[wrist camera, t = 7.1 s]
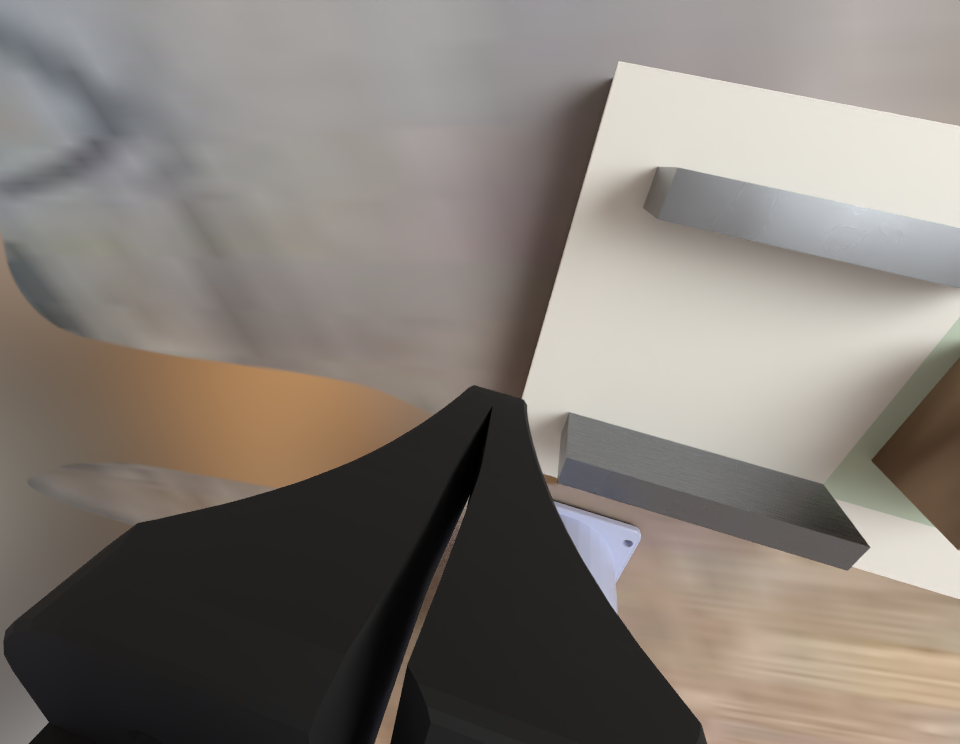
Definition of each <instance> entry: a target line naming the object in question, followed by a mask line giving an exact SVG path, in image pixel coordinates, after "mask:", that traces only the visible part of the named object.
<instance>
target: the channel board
mask: <svg viewBox="0 0 960 744" xmlns="http://www.w3.org/2000/svg"><path fill="white" fill-rule="evenodd" d="M658 166H659V167H678V168H683V169H688V170H692V171H697V172H702V173H706V174H711V175H716V176H720V177H725V178H729V179H734V180H739V181H743V182H748V183H753V184H757V185H762V186H767V187H771V188H776V189H781V190H785V191H790V192H795V193H799V194H804V195H809V196H813V197H818V198H823V199H827V200H832V201H837V202H841V203H846V204H851V205H855V206H860V207H865V208H869V209H874V210H879V211H883V212H888V213H893V214H897V215H902V216H907V217H911V218H916V219H921V220H925V221H930V222H934V223H939V224H944V225H948V226H953V227H958V228H960V126H956V125H950V124H945V123H940V122H935V121H929V120H924V119H919V118H914V117H908V116H903V115H898V114H893V113H887V112H882V111H877V110H872V109H866V108H861V107H856V106H851V105H845V104H840V103H835V102H830V101H825V100H819V99H814V98H809V97H804V96H798V95H793V94H788V93H783V92H777V91H772V90H767V89H762V88H756V87H751V86H746V85H741V84H735V83H730V82H725V81H720V80H714V79H709V78H704V77H699V76H694V75H688V74H683V73H678V72H673V71H667V70H662V69H657V68H652V67H646V66H641V65H636V64H631V63H625V62H620V61H619V62H618V65H617V68H616V71H615V74H614V76H613V80H612V83H611V87H610V90H609V94H608V97H607V101H606V104H605V108H604V111H603V115H602V118H601V122H600V125H599V129H598V132H597V136H596V139H595V143H594V146H593V150H592V153H591V157H590V160H589V164H588V167H587V171H586V174H585V178H584V181H583V185H582V188H581V192H580V195H579V199H578V202H577V206H576V209H575V213H574V216H573V220H572V223H571V227H570V230H569V234H568V237H567V241H566V244H565V248H564V251H563V255H562V258H561V262H560V265H559V269H558V272H557V276H556V279H555V283H554V286H553V290H552V293H551V297H550V300H549V304H548V307H547V311H546V314H545V318H544V321H543V325H542V328H541V332H540V335H539V339H538V342H537V346H536V349H535V353H534V356H533V360H532V363H531V367H530V370H529V374H528V377H527V381H526V384H525V388H524V391H523V395H522V398H521V399H523V400H524V401H525V402H526V404H527V413H528V421H529V426H530V431H531V436H532V440H533V444H534V447H535V451H536V454H537V458H538V461H539V464H540V467H541V470H542V473H543V474H546V475H550V476H553V477H558V464H559V452H560V440H561V433H562V430H563V428H564V425H565V422H566V419H567V417H568V414H569V412H571V413H574V414H578V415H581V416H585V417H589V418H592V419H596V420H599V421H603V422H606V423H610V424H613V425H617V426H620V427H624V428H627V429H631V430H634V431H638V432H641V433H645V434H648V435H652V436H655V437H659V438H663V439H666V440H670V441H673V442H677V443H680V444H684V445H687V446H691V447H694V448H698V449H701V450H705V451H708V452H712V453H715V454H719V455H722V456H726V457H729V458H733V459H737V460H740V461H744V462H747V463H751V464H754V465H758V466H761V467H765V468H768V469H772V470H775V471H779V472H782V473H786V474H789V475H793V476H796V477H800V478H803V479H807V480H810V481H814V482H818V483H821V484H824V486H825V487H826V488H827V490H828V491H829V492H830V494H831V495H832V496H833V498H834V499H835V500H836V502H837V503H838V505H839V506H840V507H841V509H842V510H843V511H844V513H845V514H846V515H847V517H848V518H849V519H850V521H851V522H852V523H853V525H854V526H855V527H856V529H857V530H858V531H859V533H860V534H861V535H862V537H863V538H864V539H865V541H866V542H867V543H868V545H869V546H870V547H871V548H870V549H869V550H868V551H867V552H866V553H865V554H864V555H863V556H862V557H861V558H860V559H859V560H858V561H857V562H856V563H855V564H854V565H853V566H852V567H854V568H858V569H861V570H864V571H868V572H871V573H874V574H878V575H881V576H884V577H888V578H891V579H894V580H898V581H901V582H904V583H908V584H911V585H914V586H917V587H921V588H924V589H927V590H931V591H934V592H937V593H941V594H944V595H947V596H951V597H954V598H957V599H960V551H959V550H957V549H956V548H955V547H954V546H953V545H952V544H951V543H950V542H949V541H948V540H947V539H946V537H945V536H944V535H943V534H942V533H941V532H940V531H939V530H938V529H937V528H936V527H935V526H934V525H933V524H932V523H931V522H930V521H929V520H928V519H927V518H926V517H925V516H924V515H923V514H922V513H921V512H920V511H919V510H918V509H917V508H916V506H915V505H914V504H913V503H912V502H911V501H910V500H909V499H908V498H907V497H906V496H905V495H904V494H903V493H902V492H901V491H900V490H899V489H898V488H897V487H896V486H895V485H894V484H893V483H892V482H891V481H890V480H889V479H888V478H887V477H886V475H885V474H884V473H883V472H882V471H881V470H880V469H879V468H878V467H877V466H876V465H875V464H874V463H873V462H872V461H871V460H872V459H873V457H874V456H875V455H876V454H877V453H878V452H879V451H880V449H881V448H882V447H883V446H884V445H885V444H886V442H887V441H888V440H889V439H890V438H891V437H892V435H893V434H894V433H895V432H896V431H897V430H898V428H899V427H900V426H901V425H902V424H903V423H904V421H905V420H906V419H907V418H908V417H909V416H910V414H911V413H912V412H913V411H914V410H915V409H916V407H917V406H918V405H919V404H920V403H921V402H922V401H923V399H924V398H925V397H926V396H927V395H928V394H929V392H930V391H931V390H932V389H933V388H934V387H935V385H936V384H937V383H938V382H939V381H940V380H941V378H942V377H943V376H944V375H945V374H946V373H947V371H948V370H949V369H950V368H951V367H952V366H953V364H954V363H955V362H956V361H957V360H958V359H959V357H960V288H956V287H952V286H947V285H943V284H939V283H934V282H930V281H925V280H921V279H917V278H912V277H908V276H904V275H899V274H895V273H890V272H886V271H882V270H877V269H873V268H869V267H864V266H860V265H856V264H851V263H847V262H842V261H838V260H834V259H829V258H825V257H821V256H816V255H812V254H807V253H803V252H799V251H794V250H790V249H786V248H781V247H777V246H772V245H768V244H764V243H759V242H755V241H751V240H746V239H742V238H738V237H733V236H729V235H724V234H720V233H716V232H711V231H707V230H703V229H698V228H694V227H689V226H685V225H681V224H676V223H672V222H668V221H663V220H659V219H657V218H655V217H654V216H653V215H651V214H650V213H649V212H647V211H646V210H645V209H644V208H643V206H644V203H645V201H646V198H647V195H648V192H649V189H650V187H651V184H652V181H653V178H654V176H655V173H656V170H657V167H658Z"/></svg>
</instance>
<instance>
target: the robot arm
mask: <svg viewBox="0 0 960 744" xmlns="http://www.w3.org/2000/svg"><path fill="white" fill-rule="evenodd" d="M469 495H470V496H469ZM468 497H469V501H468V505H467V510H466V513H465V516H464V518H463V521H462V524H461V527H460V529H459V532H458V535H457V538H456V540H455V543H454V546H453V548H452V551H451V554H450V556H449V559H448V562H447V564H446V567H445V570H444V572H443V575H442V578H441V580H440V583H439V585H438V588H437V591H436V593H435V596H434V598H433V601H432V603H431V606H430V609H429V611H428V614H427V616H426V619H425V622H424V624H423V627H422V629H421V632H420V634H419V637H418V639H417V642H416V645H415V647H414V650H413V652H412V655H411V657H410V660H409V662H408V665H407V669H406V674H405V678H404V683H403V688H402V692H401V697H400V702H399V706H398V711H397V716H396V720H395V725H394V730H393V734H392V739H391V744H707V742H706V738H705V735H704V732H703V728H702V725H701V723H700V722H699V721H698V719H697V718H696V717H695V716H694V714H693V713H692V712H691V710H690V709H689V708H688V707H687V705H686V704H685V703H684V702H683V700H682V699H681V698H680V697H679V695H678V694H677V693H676V691H675V690H674V689H673V688H672V686H671V685H670V684H669V683H668V681H667V680H666V679H665V678H664V676H663V675H662V674H661V672H660V671H659V670H658V669H657V667H656V666H655V665H654V664H653V662H652V661H651V660H650V659H649V657H648V656H647V655H646V653H645V652H644V651H643V650H642V648H641V647H640V646H639V644H638V643H637V642H636V640H635V639H634V637H633V636H632V635H631V633H630V632H629V630H628V629H627V627H626V626H625V625H624V623H623V622H622V620H621V619H620V618H619V616H618V608H617V595H616V582H617V580H618V578H619V576H620V575H621V573H622V571H623V569H624V568H625V566H626V564H627V562H628V561H629V559H630V557H631V555H632V554H633V552H634V550H635V548H636V547H637V545H638V543H639V541H640V540H641V533H640V530H639V529H638V528H637V527H635V526H633V525H629V524H626V523H623V522H620V521H616V520H613V519H610V518H607V517H603V516H600V515H597V514H594V513H590V512H587V511H584V510H581V509H577V508H574V507H571V506H568V505H565V504H561V503H558V502H555V501H553V499H552V497H551V494H550V492H549V489H548V487H547V484H546V481H545V479H544V476H543V473H542V470H541V467H540V464H539V461H538V458H537V454H536V451H535V447H534V444H533V440H532V436H531V431H530V426H529V421H528V413H527V404H526V402H525V401H524V400H523V399H520V398H516V397H513V396H509V395H506V394H502V393H499V392H496V391H492V390H489V389H485V388H482V387H478V386H475V385H474V386H472V387H470V388H468V389H467V390H466V391H465V392H463V393H462V394H461V395H460V396H459V397H457V398H456V399H455V400H454V401H452V402H451V403H450V404H448V405H447V406H446V407H445V408H443V409H442V410H440V411H439V412H438V413H436V414H435V415H433V416H432V417H430V418H429V419H428V420H426V421H425V422H423V423H422V424H420V425H419V426H417V427H415V428H414V429H412V430H410V431H409V432H407V433H405V434H404V435H402V436H401V437H399V438H397V439H395V440H394V441H392V442H390V443H388V444H386V445H385V446H383V447H381V448H379V449H377V450H375V451H373V452H371V453H369V454H367V455H365V456H363V457H361V458H358V459H357V460H354V461H352V462H350V463H347V464H345V465H342V466H340V467H338V468H335V469H332V470H330V471H328V472H325V473H322V474H319V475H317V476H314V477H312V478H309V479H306V480H304V481H301V482H298V483H295V484H292V485H288V486H285V487H282V488H279V489H276V490H273V491H269V492H266V493H262V494H259V495H255V496H252V497H248V498H245V499H241V500H238V501H234V502H230V503H226V504H222V505H218V506H214V507H209V508H205V509H200V510H196V511H192V512H187V513H183V514H178V515H174V516H170V517H165V518H161V519H156V520H151V521H146V522H141V523H137V524H136V525H135V526H133V527H132V528H131V529H129V530H128V531H127V532H125V533H124V534H123V535H121V536H120V537H119V538H117V539H116V540H115V541H113V542H112V543H111V544H110V545H108V546H107V547H106V548H104V549H103V550H102V551H101V552H99V553H98V554H97V555H96V556H94V557H93V558H92V559H91V560H89V561H88V562H87V563H86V564H84V565H83V566H82V567H81V568H80V569H78V570H77V571H76V572H75V573H73V574H72V575H71V576H70V577H69V578H68V579H66V580H65V581H64V582H62V583H61V584H60V585H59V586H57V587H56V588H55V589H54V590H53V591H51V592H50V593H49V594H48V595H47V596H45V597H44V598H43V599H41V600H40V601H39V602H38V603H36V604H35V605H34V606H33V607H32V608H30V609H29V610H28V611H27V612H25V613H24V614H23V615H22V616H21V617H19V618H18V619H17V620H16V621H14V622H13V623H12V624H11V626H10V627H9V628H8V629H7V630H6V632H5V637H4V655H5V657H6V659H7V661H8V663H9V665H10V666H11V668H12V670H13V672H14V673H15V675H16V676H17V677H18V679H19V680H20V682H21V683H22V685H23V686H24V687H25V689H26V690H27V692H28V693H29V694H30V696H31V697H32V699H33V700H34V701H35V703H36V704H37V706H38V707H39V709H40V710H41V712H42V713H43V714H44V716H45V717H46V718H47V720H48V721H49V723H48V724H47V725H46V726H45V727H44V728H43V730H41V732H40V733H39V734H38V735H37V736H36V737H35V738H34V739H33V740H32V741H31V742H30V743H29V744H374V743H375V740H376V737H377V734H378V731H379V728H380V725H381V722H382V719H383V716H384V713H385V711H386V708H387V705H388V702H389V699H390V696H391V693H392V690H393V687H394V684H395V681H396V678H397V675H398V672H399V670H400V667H401V664H402V661H403V658H404V655H405V652H406V649H407V646H408V643H409V640H410V638H411V635H412V632H413V629H414V626H415V623H416V620H417V618H418V615H419V612H420V609H421V606H422V603H423V600H424V597H425V595H426V592H427V590H428V587H429V585H430V582H431V580H432V577H433V575H434V573H435V571H436V569H437V566H438V564H439V562H440V560H441V557H442V555H443V553H444V551H445V549H446V546H447V544H448V542H449V540H450V538H451V535H452V533H453V531H454V529H455V526H456V524H457V522H458V520H459V518H460V515H461V513H462V511H463V509H464V506H465V504H466V502H467V500H468ZM625 540H630V541H625Z"/></svg>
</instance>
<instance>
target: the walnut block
mask: <svg viewBox="0 0 960 744" xmlns="http://www.w3.org/2000/svg"><path fill="white" fill-rule="evenodd" d="M871 461H872V462H873V463H874V464H875V465H876V466H877V467H878V468H879V469H880V470H881V471H882V472H883V473H884V474H885V475H886V477H887V478H888V479H889V480H890V481H891V482H892V483H893V484H894V485H895V486H896V487H897V488H898V489H899V490H900V491H901V492H902V493H903V494H904V495H905V496H906V497H907V498H908V499H909V500H910V501H911V502H912V503H913V504H914V505H915V506H916V508H917V509H918V510H919V511H920V512H921V513H922V514H923V515H924V516H925V517H926V518H927V519H928V520H929V521H930V522H931V523H932V524H933V525H934V526H935V527H936V528H937V529H938V530H939V531H940V532H941V533H942V534H943V535H944V536H945V537H946V539H947V540H948V541H949V542H950V543H951V544H952V545H953V546H954V547H955V548H956V549H957V550H959V551H960V357H959V359H958V360H957V361H956V362H955V363H954V364H953V366H952V367H951V368H950V369H949V370H948V371H947V373H946V374H945V375H944V376H943V377H942V378H941V380H940V381H939V382H938V383H937V384H936V385H935V387H934V388H933V389H932V390H931V391H930V392H929V394H928V395H927V396H926V397H925V398H924V399H923V401H922V402H921V403H920V404H919V405H918V406H917V407H916V409H915V410H914V411H913V412H912V413H911V414H910V416H909V417H908V418H907V419H906V420H905V421H904V423H903V424H902V425H901V426H900V427H899V428H898V430H897V431H896V432H895V433H894V434H893V435H892V437H891V438H890V439H889V440H888V441H887V442H886V444H885V445H884V446H883V447H882V448H881V449H880V451H879V452H878V453H877V454H876V455H875V456H874V457H873V459H872V460H871Z"/></svg>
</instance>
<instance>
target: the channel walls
mask: <svg viewBox="0 0 960 744" xmlns="http://www.w3.org/2000/svg"><path fill="white" fill-rule="evenodd" d="M643 208H644V209H645V210H646V211H647V212H649V213H650V214H651V215H653V216H654V217H655V218H657V219H659V220H663V221H668V222H672V223H676V224H681V225H685V226H689V227H694V228H698V229H703V230H707V231H711V232H716V233H720V234H724V235H729V236H733V237H738V238H742V239H746V240H751V241H755V242H759V243H764V244H768V245H772V246H777V247H781V248H786V249H790V250H794V251H799V252H803V253H807V254H812V255H816V256H821V257H825V258H829V259H834V260H838V261H842V262H847V263H851V264H856V265H860V266H864V267H869V268H873V269H877V270H882V271H886V272H890V273H895V274H899V275H904V276H908V277H912V278H917V279H921V280H925V281H930V282H934V283H939V284H943V285H947V286H952V287H956V288H960V228H958V227H953V226H948V225H944V224H939V223H934V222H930V221H925V220H921V219H916V218H911V217H907V216H902V215H897V214H893V213H888V212H883V211H879V210H874V209H869V208H865V207H860V206H855V205H851V204H846V203H841V202H837V201H832V200H827V199H823V198H818V197H813V196H809V195H804V194H799V193H795V192H790V191H785V190H781V189H776V188H771V187H767V186H762V185H757V184H753V183H748V182H743V181H739V180H734V179H729V178H725V177H720V176H716V175H711V174H706V173H702V172H697V171H692V170H688V169H683V168H678V167H659V166H658V167H657V170H656V173H655V176H654V178H653V181H652V184H651V187H650V189H649V192H648V195H647V198H646V201H645V203H644V206H643ZM557 483H560V484H563V485H567V486H570V487H573V488H577V489H580V490H583V491H586V492H590V493H593V494H596V495H600V496H603V497H606V498H610V499H613V500H616V501H619V502H623V503H626V504H629V505H633V506H636V507H639V508H643V509H646V510H649V511H652V512H656V513H659V514H662V515H666V516H669V517H672V518H676V519H679V520H682V521H685V522H689V523H692V524H695V525H699V526H702V527H705V528H709V529H712V530H715V531H718V532H722V533H725V534H728V535H732V536H735V537H738V538H742V539H745V540H748V541H751V542H755V543H758V544H761V545H765V546H768V547H771V548H775V549H778V550H781V551H784V552H788V553H791V554H794V555H798V556H801V557H804V558H808V559H811V560H814V561H817V562H821V563H824V564H827V565H831V566H834V567H837V568H841V569H844V570H847V571H848V570H849V569H850V568H851V567H852V566H853V565H854V564H855V563H856V562H857V561H858V560H859V559H860V558H861V557H862V556H863V555H864V554H865V553H866V552H867V551H868V550H869V549H870V548H871V547H870V546H869V545H868V543H867V542H866V541H865V539H864V538H863V537H862V535H861V534H860V533H859V531H858V530H857V529H856V527H855V526H854V525H853V523H852V522H851V521H850V519H849V518H848V517H847V515H846V514H845V513H844V511H843V510H842V509H841V507H840V506H839V505H838V503H837V502H836V500H835V499H834V498H833V496H832V495H831V494H830V492H829V491H828V490H827V488H826V487H825V486H824V484H821V483H818V482H814V481H810V480H807V479H803V478H800V477H796V476H793V475H789V474H786V473H782V472H779V471H775V470H772V469H768V468H765V467H761V466H758V465H754V464H751V463H747V462H744V461H740V460H737V459H733V458H729V457H726V456H722V455H719V454H715V453H712V452H708V451H705V450H701V449H698V448H694V447H691V446H687V445H684V444H680V443H677V442H673V441H670V440H666V439H663V438H659V437H655V436H652V435H648V434H645V433H641V432H638V431H634V430H631V429H627V428H624V427H620V426H617V425H613V424H610V423H606V422H603V421H599V420H596V419H592V418H589V417H585V416H581V415H578V414H574V413H571V412H569V414H568V417H567V419H566V422H565V425H564V428H563V430H562V433H561V440H560V452H559V464H558V477H557Z"/></svg>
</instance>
